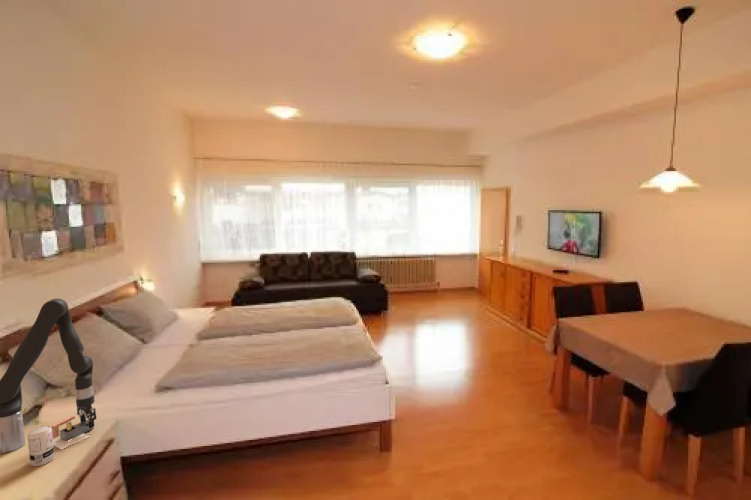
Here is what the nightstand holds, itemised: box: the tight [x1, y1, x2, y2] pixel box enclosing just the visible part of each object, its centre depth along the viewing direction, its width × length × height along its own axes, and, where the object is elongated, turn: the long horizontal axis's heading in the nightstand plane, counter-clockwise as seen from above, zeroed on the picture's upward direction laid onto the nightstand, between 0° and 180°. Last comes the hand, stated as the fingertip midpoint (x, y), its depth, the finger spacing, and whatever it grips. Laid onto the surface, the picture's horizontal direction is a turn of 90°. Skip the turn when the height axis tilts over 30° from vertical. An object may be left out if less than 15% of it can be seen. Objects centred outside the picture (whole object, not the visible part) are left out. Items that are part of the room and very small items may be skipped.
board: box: [53, 432, 91, 451], centre depth 190 cm, size 12×18×1 cm
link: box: [59, 419, 95, 441], centre depth 194 cm, size 12×6×4 cm, turn 151°
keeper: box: [50, 415, 76, 438], centre depth 195 cm, size 10×2×6 cm, turn 164°
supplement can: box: [27, 425, 55, 467], centre depth 172 cm, size 8×8×15 cm
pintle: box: [65, 421, 73, 432], centre depth 191 cm, size 2×2×8 cm
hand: (87, 425), depth 198 cm, fingers open, 8 cm apart
